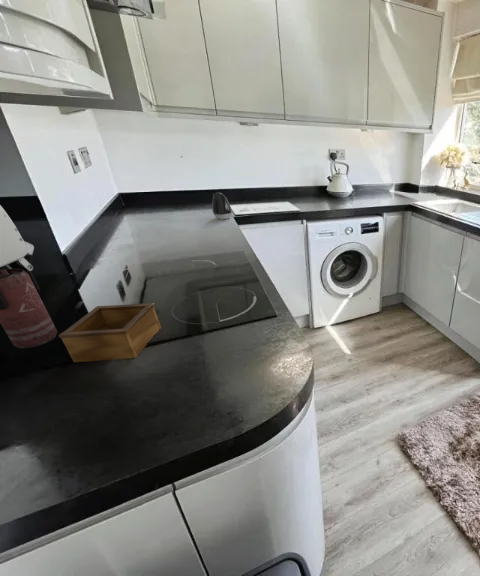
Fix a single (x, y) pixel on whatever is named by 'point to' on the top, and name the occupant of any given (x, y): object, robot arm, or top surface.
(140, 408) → the top surface
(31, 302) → the can
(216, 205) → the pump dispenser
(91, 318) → the wooden open box
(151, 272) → the top surface
